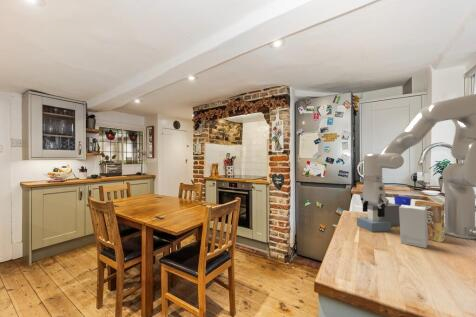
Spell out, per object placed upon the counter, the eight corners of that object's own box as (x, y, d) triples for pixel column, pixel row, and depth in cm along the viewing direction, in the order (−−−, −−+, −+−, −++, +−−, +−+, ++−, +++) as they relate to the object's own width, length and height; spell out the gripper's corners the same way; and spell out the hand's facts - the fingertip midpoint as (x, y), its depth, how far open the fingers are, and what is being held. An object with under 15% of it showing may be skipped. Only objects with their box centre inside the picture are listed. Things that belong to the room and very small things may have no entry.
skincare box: (428, 244, 86) (428, 206, 86) (426, 249, 82) (426, 209, 82) (402, 239, 92) (401, 203, 92) (398, 243, 88) (398, 206, 88)
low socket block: (390, 230, 103) (390, 222, 103) (371, 231, 101) (371, 223, 101) (374, 224, 113) (374, 216, 113) (356, 225, 111) (356, 217, 111)
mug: (396, 216, 129) (396, 198, 129) (393, 211, 140) (393, 195, 139) (414, 217, 125) (414, 200, 125) (409, 212, 136) (409, 196, 136)
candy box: (444, 240, 91) (444, 203, 91) (441, 242, 88) (441, 204, 88) (418, 234, 98) (418, 200, 98) (414, 236, 96) (414, 201, 96)
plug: (379, 226, 106) (379, 206, 105) (372, 227, 105) (372, 206, 105) (373, 224, 109) (373, 204, 109) (367, 225, 108) (367, 204, 108)
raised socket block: (400, 225, 111) (400, 205, 111) (382, 226, 110) (382, 206, 110) (384, 219, 121) (384, 201, 121) (368, 220, 120) (367, 202, 120)
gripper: (395, 180, 99) (395, 218, 99) (367, 177, 116) (367, 209, 116) (380, 180, 98) (380, 219, 98) (354, 177, 115) (354, 210, 115)
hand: (373, 214), depth 107 cm, fingers open, 9 cm apart
